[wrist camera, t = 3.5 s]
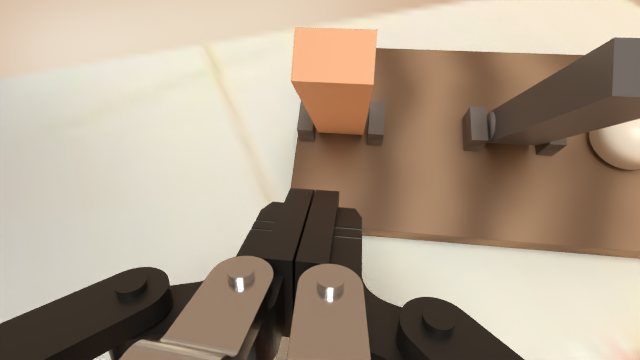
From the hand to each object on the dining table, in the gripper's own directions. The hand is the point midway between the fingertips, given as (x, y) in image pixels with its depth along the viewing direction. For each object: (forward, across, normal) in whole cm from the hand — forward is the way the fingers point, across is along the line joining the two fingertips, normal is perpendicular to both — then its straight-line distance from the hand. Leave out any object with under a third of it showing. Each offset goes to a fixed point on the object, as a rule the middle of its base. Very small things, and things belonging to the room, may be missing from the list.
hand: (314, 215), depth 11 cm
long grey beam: (+13, -11, 0) cm, 17 cm away
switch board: (+16, -9, +3) cm, 18 cm away
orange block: (+13, 0, 0) cm, 13 cm away
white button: (+14, -18, +1) cm, 23 cm away
